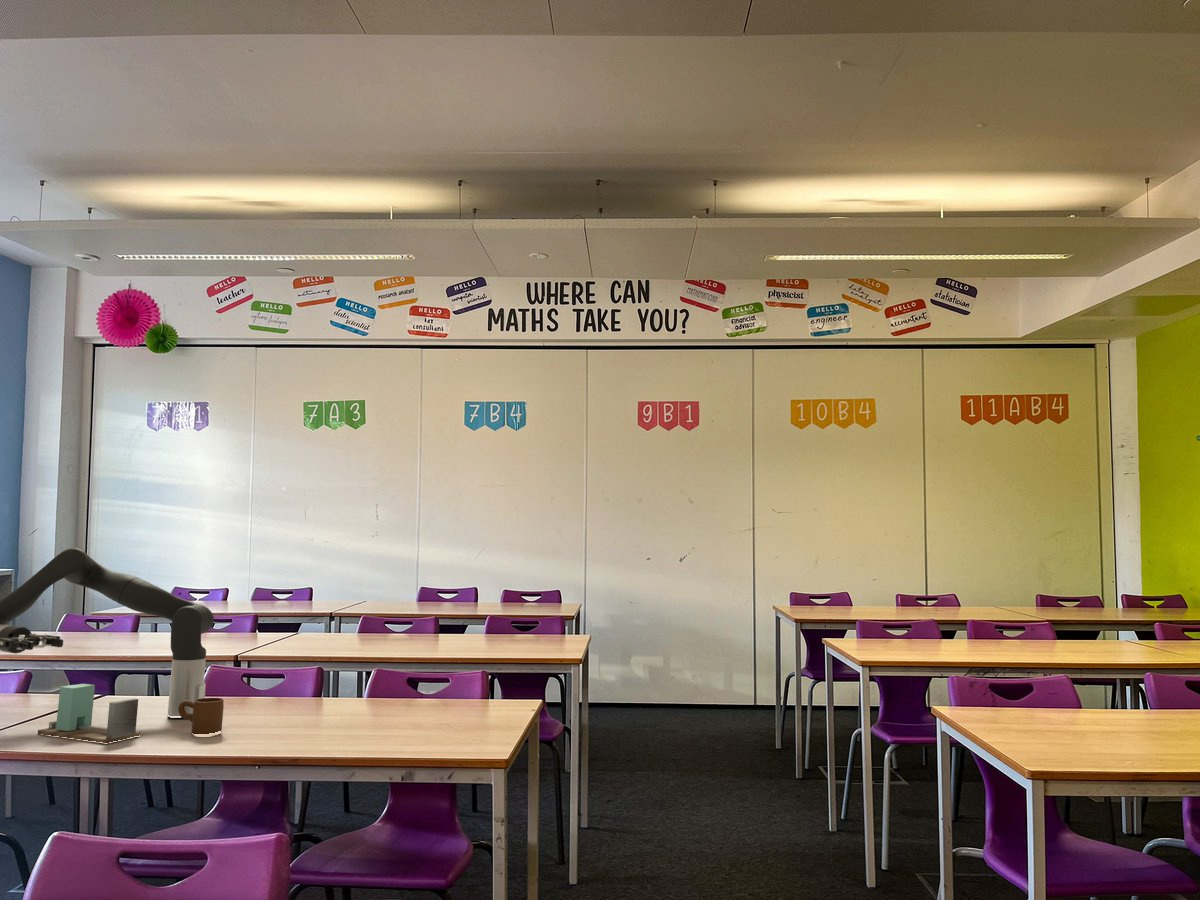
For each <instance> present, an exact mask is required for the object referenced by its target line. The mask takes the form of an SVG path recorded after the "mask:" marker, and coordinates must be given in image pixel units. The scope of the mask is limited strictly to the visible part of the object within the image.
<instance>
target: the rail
mask: <svg viewBox="0 0 1200 900" xmlns="http://www.w3.org/2000/svg"><path fill="white" fill-rule="evenodd" d="M108 703H109V706H108V713H107V727H105V726H99V725H92V724H91V725H84V724H77V723H76V730H77V731H84V732H91V733H99V734H106V738H110V739H113V738H117V737H122V736H127V735H131V734H135V733H136V732H137V731H136V730H137V719H138V707H139V699H138V698H128V699H122V700H117V701H110V702H108ZM56 723H57V720H52V721H49V722H48V728H51V729H52V728H56Z"/></svg>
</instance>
